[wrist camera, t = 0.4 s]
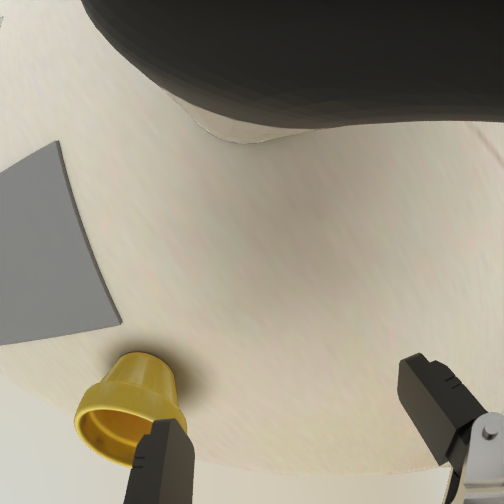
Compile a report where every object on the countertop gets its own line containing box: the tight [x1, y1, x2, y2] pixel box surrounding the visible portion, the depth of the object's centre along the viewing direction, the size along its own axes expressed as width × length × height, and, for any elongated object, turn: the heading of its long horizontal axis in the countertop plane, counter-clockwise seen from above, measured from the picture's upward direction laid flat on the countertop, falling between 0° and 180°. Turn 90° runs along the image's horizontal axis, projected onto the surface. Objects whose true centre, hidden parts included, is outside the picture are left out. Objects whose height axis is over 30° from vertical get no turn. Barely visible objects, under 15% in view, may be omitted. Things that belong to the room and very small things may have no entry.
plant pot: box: [74, 352, 187, 468], centre depth 25 cm, size 10×10×10 cm
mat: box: [0, 141, 122, 345], centre depth 23 cm, size 18×24×1 cm
